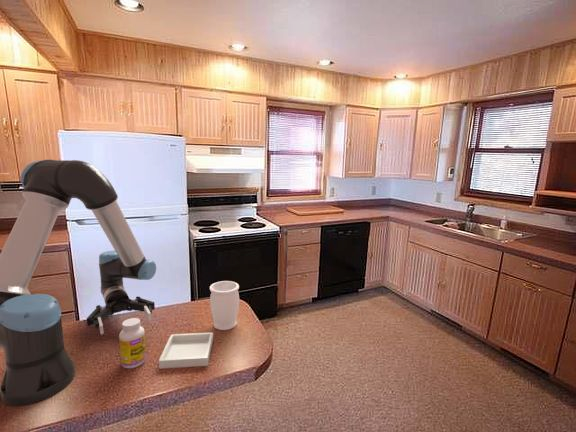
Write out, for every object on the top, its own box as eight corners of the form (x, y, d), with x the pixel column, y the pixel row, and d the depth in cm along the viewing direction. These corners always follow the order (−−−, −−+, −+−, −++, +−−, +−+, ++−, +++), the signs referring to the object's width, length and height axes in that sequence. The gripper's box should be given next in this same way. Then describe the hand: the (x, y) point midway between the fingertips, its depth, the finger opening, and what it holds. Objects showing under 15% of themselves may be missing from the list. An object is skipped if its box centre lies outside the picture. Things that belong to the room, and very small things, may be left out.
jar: (205, 323, 111) (204, 285, 109) (229, 314, 118) (229, 278, 116) (220, 335, 103) (219, 294, 101) (245, 325, 110) (244, 286, 108)
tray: (159, 368, 86) (158, 360, 86) (171, 341, 100) (171, 334, 99) (207, 365, 88) (207, 357, 88) (213, 339, 101) (213, 332, 101)
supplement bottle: (130, 372, 85) (126, 330, 82) (116, 364, 88) (112, 323, 86) (151, 359, 90) (148, 319, 88) (137, 352, 94) (134, 314, 91)
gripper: (152, 300, 120) (168, 322, 103) (76, 318, 105) (80, 347, 89) (151, 282, 119) (167, 301, 102) (74, 298, 104) (77, 324, 87)
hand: (126, 323), depth 95 cm, fingers open, 13 cm apart
